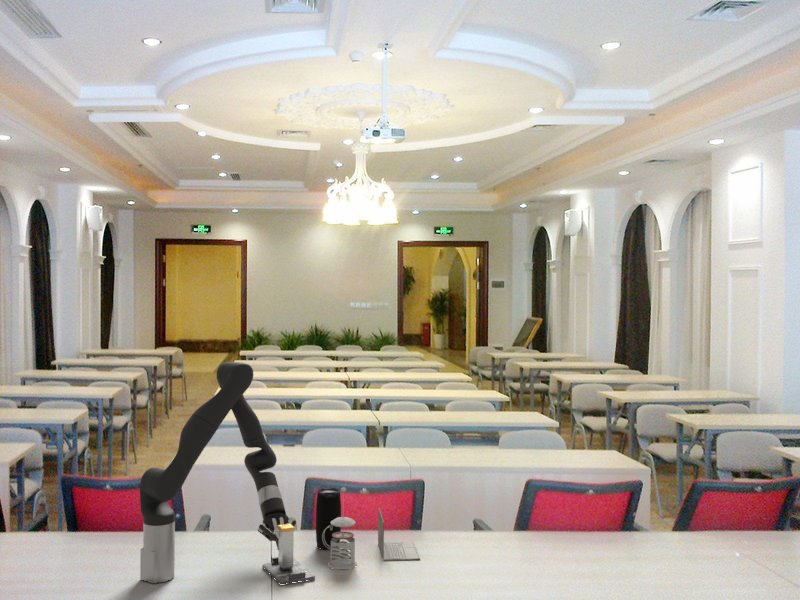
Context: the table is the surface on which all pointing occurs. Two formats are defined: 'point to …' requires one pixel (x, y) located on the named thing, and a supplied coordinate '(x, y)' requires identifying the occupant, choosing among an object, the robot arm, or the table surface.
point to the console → (288, 572)
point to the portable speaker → (327, 515)
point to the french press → (342, 543)
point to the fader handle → (286, 546)
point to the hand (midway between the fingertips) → (283, 550)
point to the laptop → (394, 546)
